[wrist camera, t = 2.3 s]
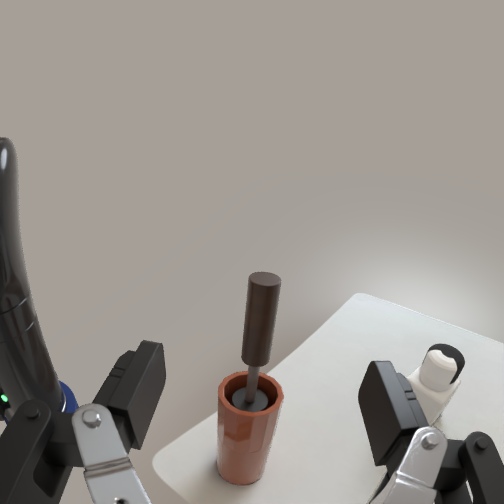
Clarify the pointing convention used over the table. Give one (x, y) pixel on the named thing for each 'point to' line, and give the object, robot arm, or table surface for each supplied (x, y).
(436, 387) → the medicine bottle
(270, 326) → the bottle brush
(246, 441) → the tube
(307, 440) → the table surface
